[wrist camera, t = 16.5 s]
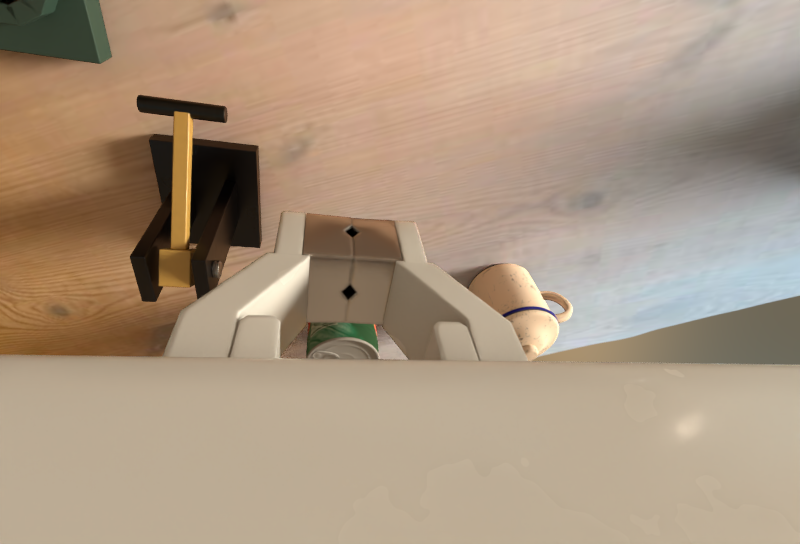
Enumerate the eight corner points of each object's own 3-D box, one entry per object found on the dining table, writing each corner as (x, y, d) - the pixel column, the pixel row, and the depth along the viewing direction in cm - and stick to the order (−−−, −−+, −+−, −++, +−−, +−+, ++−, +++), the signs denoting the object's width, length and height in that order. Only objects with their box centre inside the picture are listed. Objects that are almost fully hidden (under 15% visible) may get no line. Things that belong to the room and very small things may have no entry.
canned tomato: (384, 285, 52) (394, 353, 44) (353, 323, 56) (356, 393, 48) (328, 261, 49) (327, 330, 40) (298, 303, 52) (292, 375, 44)
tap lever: (146, 99, 32) (132, 90, 29) (229, 110, 33) (222, 102, 30) (143, 280, 33) (130, 285, 31) (222, 284, 34) (216, 289, 32)
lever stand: (153, 133, 37) (83, 214, 27) (258, 145, 39) (230, 225, 29) (173, 234, 44) (123, 330, 33) (261, 240, 46) (240, 333, 35)
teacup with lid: (465, 316, 58) (489, 386, 49) (465, 266, 52) (492, 336, 43) (548, 302, 58) (587, 369, 49) (557, 251, 52) (604, 317, 43)
